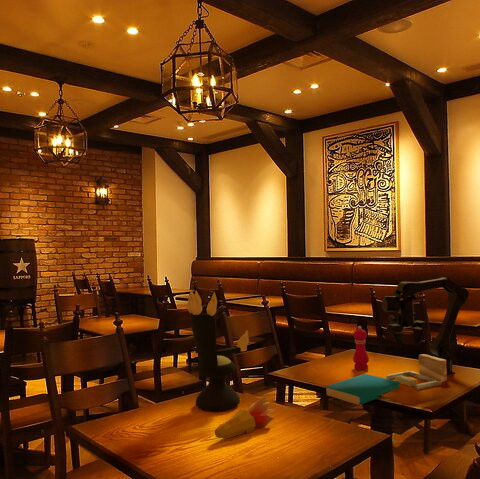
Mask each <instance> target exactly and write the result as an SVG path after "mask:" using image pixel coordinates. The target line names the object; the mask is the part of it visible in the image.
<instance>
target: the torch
mask: <svg viewBox="0 0 480 479" xmlns="http://www.w3.org/2000/svg"><path fill="white" fill-rule="evenodd" d="M267 397H268V394H266V395H264V396H262V397H260V398H258V399H257V401H255V402H253V403H251V404H250V406H249V407H248V408H247V409H241V408H240V409H239V410H238V411H237V412H236V413H235V414H234V415H232V417H230V418H229V419H228V420H227V421H225V422H223V423H222V424H220V425H218V426H217V427H216V428H215V429H214V435H215V437H216V438H218V439H228V438H232V437H235V436H236V437H237V436H239V435H243V434H251V433H253V432H254V430H255V428H256V427H265V426H266V425H268V424H269V423H270V422H272V421H273V420H274V419H275V418H274V417H271V416H269V414H271V413H272V412H274V411H275V409H270V408H268V407H269V406H270V404H271V403H270V402H269V401H266V400H267ZM265 401H266V402H265Z"/></svg>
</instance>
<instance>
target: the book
mask: <svg viewBox="0 0 480 479" xmlns="http://www.w3.org/2000/svg"><path fill="white" fill-rule="evenodd" d="M400 384H401V383H399V382H398V381H395V379H386V377H382V376H376V375H373V374H372V375H371V374H369V373H364V374H360V375H357V376H354V377H351V378H347V379H344V380H341V381H339V382H334V383H331V384H329V385H325V389H326V396H329V397H331V398H332V397H333V398H335V399H339V400H342V401H344V402H348V403H350V404H355V405H357V406H359V405H360V406H361V405H364V404H366V403H369V402H372V401H374V400H377V398H378V399H379V398H383V397H382V396H383V394H386V393H388V392H392V391H394V390H397V389H399V388H401V385H400Z"/></svg>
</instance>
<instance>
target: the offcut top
mask: <svg viewBox="0 0 480 479" xmlns="http://www.w3.org/2000/svg"><path fill="white" fill-rule="evenodd" d="M394 381H398V382H399V384H401V383H402V385H404V384H405V386H407V385H408V387H410V386H414V385H416V384H417V379H416V378H411V377H409V376H402V375H400V376H396V377H395V379H394Z"/></svg>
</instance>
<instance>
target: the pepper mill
mask: <svg viewBox="0 0 480 479" xmlns="http://www.w3.org/2000/svg"><path fill="white" fill-rule="evenodd" d="M362 328H363V327H362V326H361V325H359V326H357V328H356V329H355V330H354V331H353V338H354V344H355V351H354V353H353V356H352V361H353V362H354V365H353V366H354V367H353V368H354V370H356V371H367V370H368V369H369V365H368V363H369V361H370V358H369V355H368V351H367V350H366V346H365V345H366V343H367V342H366V341H367V340H366V338H367V334H368V333H367V332H366V330H364V329H362Z"/></svg>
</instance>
